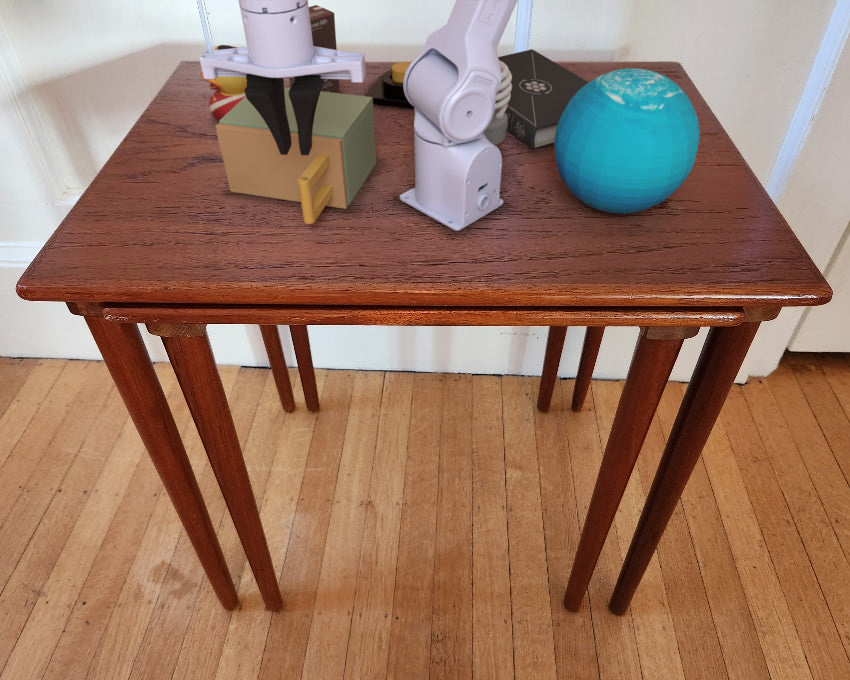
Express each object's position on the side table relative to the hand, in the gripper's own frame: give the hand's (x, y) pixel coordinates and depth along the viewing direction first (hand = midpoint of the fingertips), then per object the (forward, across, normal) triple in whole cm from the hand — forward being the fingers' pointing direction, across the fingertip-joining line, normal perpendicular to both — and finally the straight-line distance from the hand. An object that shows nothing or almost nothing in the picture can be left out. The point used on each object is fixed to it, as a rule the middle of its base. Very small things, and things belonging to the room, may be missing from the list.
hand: (296, 150), depth 67 cm
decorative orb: (+11, -34, -9) cm, 36 cm away
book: (+11, -25, -34) cm, 43 cm away
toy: (+11, +14, -28) cm, 33 cm away
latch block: (+10, -7, -36) cm, 38 cm away
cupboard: (+10, +3, -13) cm, 17 cm away
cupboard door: (+10, +5, -4) cm, 12 cm away
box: (+11, +6, -34) cm, 36 cm away
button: (+8, -7, -36) cm, 38 cm away
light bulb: (+11, -19, -19) cm, 29 cm away
